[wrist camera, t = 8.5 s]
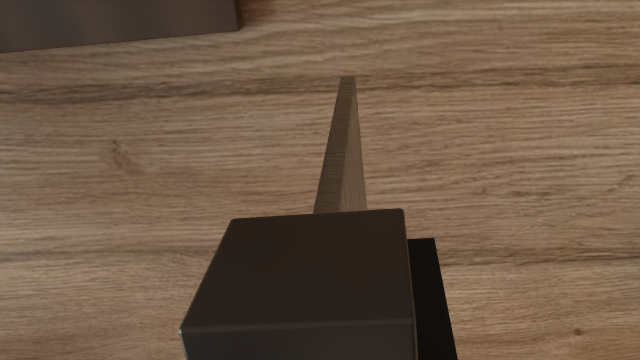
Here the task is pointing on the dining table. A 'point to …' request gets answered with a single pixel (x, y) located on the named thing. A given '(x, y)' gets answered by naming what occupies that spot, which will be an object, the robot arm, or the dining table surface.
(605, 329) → the dining table surface
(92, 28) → the board
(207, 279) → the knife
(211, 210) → the dining table surface
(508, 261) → the dining table surface
